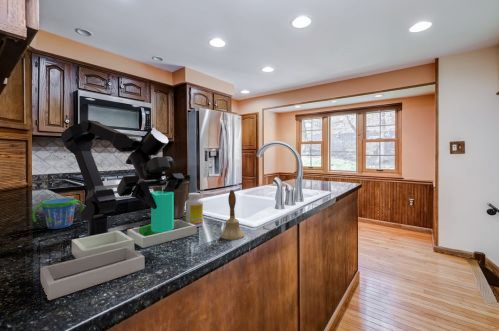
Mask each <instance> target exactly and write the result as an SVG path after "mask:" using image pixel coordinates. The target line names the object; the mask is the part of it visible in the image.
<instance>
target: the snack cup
mask: <svg viewBox="0 0 499 331" xmlns="http://www.w3.org/2000/svg"><path fill="white" fill-rule="evenodd" d="M77 203H79V204H80V213H81V212H82V210H83V209H84V208H85V206H84V204H83V202H82V201H80V200H78V199H76V198H74V197H73V198H71V197H65V198H63V197H62V198H54V199H53V198H52V199H46V200H43V201H42V202H41V203H39V204H38V205H36V206H35V207H34V209H33V211H32V217H31V218H32V220H33V223H36V222H37V218H36V211H37V210H38V209H39V208H40V207H41V208H42V211H43V213H44V218H45V222H46V227H47V228H48V229H50V230H51V229H52V230H57V229H58V230H59V229H64V228H68V227H71V225H72V224H73V222H74V214H75V208H76V205H77ZM80 213H79V214H80Z"/></svg>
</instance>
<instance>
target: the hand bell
mask: <svg viewBox="0 0 499 331" xmlns="http://www.w3.org/2000/svg"><path fill="white" fill-rule="evenodd" d="M236 201H237V198H236V193H235V190H234V189H233V190H231V189H230V190H229V195H228V206H229V218H228V219H226V220H225V226H224V229H223V231H222V232H221V233H220V235H219V237H220V238H221V239H224V240H227V241H228V240H229V241H233V240H240V239H243V238H244V237H245V234H244V232H243V231H242V230H241V226H240V223H239V220H238V219H237V218H236V217H235V216H236V215H235V207H236V203H237V202H236Z"/></svg>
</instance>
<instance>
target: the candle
mask: <svg viewBox="0 0 499 331" xmlns="http://www.w3.org/2000/svg"><path fill="white" fill-rule="evenodd" d="M151 194H152V196H153V198H154V201H155V203H156V206H157V208H156V209H153V208H151V207H150V224H151V230H152V231H153V232H167V231H171V230H174V229H173V228H174V220H175V219H174V192H164V191H163V187H162V191H155V192H154V191H153V192H151Z"/></svg>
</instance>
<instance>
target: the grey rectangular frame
mask: <svg viewBox="0 0 499 331" xmlns="http://www.w3.org/2000/svg"><path fill="white" fill-rule="evenodd" d="M145 268H146V266H145V256H144V255H143V254H141V253H140V252H139V251H137V250H135V248H134V249H132V248H131V247H129V246H126V247H122V248H118V249H114V250H110V251H106V252H102V253H98V254H94V255H90V256H86V257H82V258H78V259H76V258H74V259H70V260H66V261H63V262H58V263H54V264H50V265H46V266H42V267H40V274H39V275H40V284H41V286H42V289H43V288H44V289H43V290H44V293H45V296H46V295H47V296H46V297H47V301H48V300H49V301H51V300H54V299H57V298H60V297H63V296H66V295H69V294H72V293H75V292H78V291H81V290H85V289H87V288H91V287H93V286H96V285H99V284H102V283H106V282H109V281H111V280H115V279H117V278H120V277H123V276H126V275H129V274H132V273H136V272H139V271H141V270H142V271H143V270H144V269H145Z"/></svg>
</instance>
